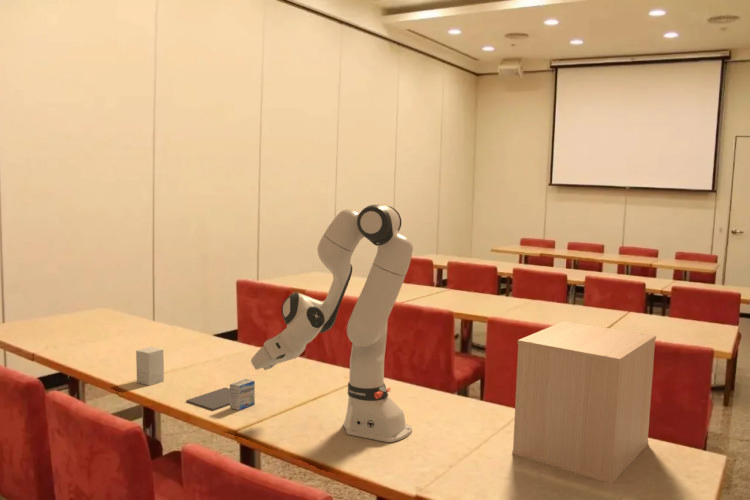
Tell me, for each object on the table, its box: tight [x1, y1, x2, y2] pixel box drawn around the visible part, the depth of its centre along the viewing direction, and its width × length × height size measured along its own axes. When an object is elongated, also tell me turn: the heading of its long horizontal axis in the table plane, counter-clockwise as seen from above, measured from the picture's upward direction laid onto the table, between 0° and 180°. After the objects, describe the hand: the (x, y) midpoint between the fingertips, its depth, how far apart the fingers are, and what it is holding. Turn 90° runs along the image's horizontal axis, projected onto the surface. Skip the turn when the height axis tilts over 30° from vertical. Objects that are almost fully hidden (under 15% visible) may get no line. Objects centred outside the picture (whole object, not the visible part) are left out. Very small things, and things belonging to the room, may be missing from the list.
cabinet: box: [511, 320, 657, 485], centre depth 194 cm, size 35×29×34 cm
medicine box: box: [229, 378, 256, 411], centre depth 224 cm, size 8×4×9 cm, turn 148°
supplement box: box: [135, 346, 165, 386], centre depth 248 cm, size 7×7×13 cm
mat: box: [186, 386, 230, 412], centre depth 231 cm, size 14×18×1 cm
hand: (266, 367), depth 216 cm, fingers closed
